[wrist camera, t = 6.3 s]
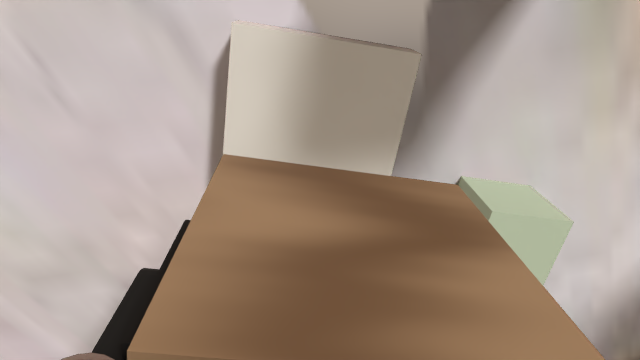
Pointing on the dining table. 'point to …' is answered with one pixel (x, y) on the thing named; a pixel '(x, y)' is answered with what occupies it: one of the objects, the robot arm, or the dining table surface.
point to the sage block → (521, 220)
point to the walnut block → (347, 275)
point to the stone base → (316, 98)
